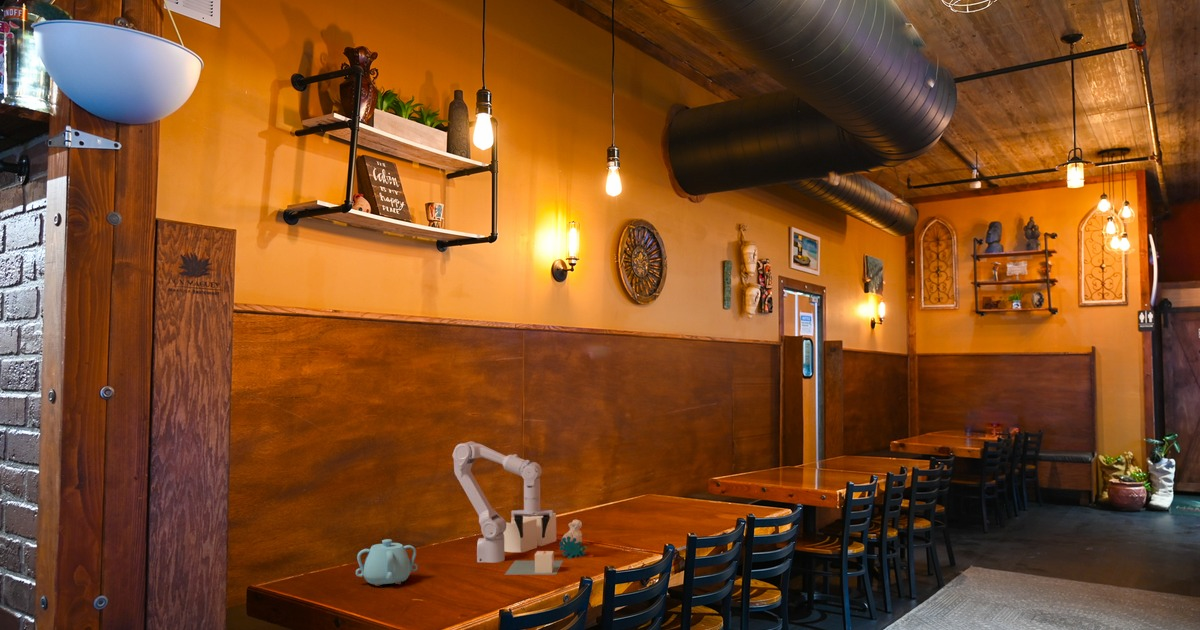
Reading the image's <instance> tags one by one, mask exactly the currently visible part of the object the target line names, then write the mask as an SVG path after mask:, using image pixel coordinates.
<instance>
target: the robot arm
mask: <svg viewBox="0 0 1200 630" xmlns="http://www.w3.org/2000/svg"><path fill="white" fill-rule="evenodd" d="M451 456H452V458H453V470H454V475H455V477H456V479H457V480H458V481H459V484H460V485H461V487H462V489H463V490H464V492H465V494H466V496H467V498H468V500H469V501H470V503H471V505H472V506H473V508H474V510H475V511H476V512H475V513H477V515H478V524H479V525H480V528H481V529H480V531H481V534H482V535H483V537H479V538H478V540H477V543H476V544H477V545H476V562H477V563H490V564H491V563H493V564H494V563H501V562H504V561H505V560H506V559H505V554H506V552H505V549H504V534H503V532H504V531H505V530H506V520H505V519H504V518H503V517H502V516H501V515H500V514H499V513H498V512H497V510H495V509H493V507H492V505H491V504H490V501H489V500H488V499H487V497H486V495H485V493H484V492H483V489H482V487H480V485H479V483H478V482H477V480H476V477H475V476H474V474H473V473H472V471H471V469H472V466H473V463H474V462H475V460H476V459H479V458H484V459H486V460H489V461H492V462H495V463H496V464H497V463H498V464H500V465H502V467H503V470H505V471H507V472H510V473H512V474H515V475H517V476H520V477H522V479H523V509H517V510H514V509H513V510H511V518H512V517H514V521H515V523H516V525H517V527H518V530H519V533H520V538H523V516H527V517H532V516H543V517H542V538H544V537H545V532H546V528H547V524H548V522H549V519H550V517H552V516H553V513H554V510H553V509H541V479H540V477H541V476H542V473H543V470H542V467H541V466H540V464H539V463H537V462H536V461H533V462H532V461H531V460H529V459H523V458H520V457H519V455H518V454H516V453H515V454H508V455H505V454H503V453H501V452H498V451H497V450H494V449H493V448H489V447H488V446H485V445H483V444H481V443H476V442H475V441H472V440H471V441H467V442H464V443H463V442H461V443H459V444H457V445H456V446H455V448H454V449H453V453H452V455H451ZM533 514H538V515H533ZM540 514H541V515H540Z"/></svg>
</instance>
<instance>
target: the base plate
mask: <svg viewBox="0 0 1200 630" xmlns="http://www.w3.org/2000/svg"><path fill="white" fill-rule="evenodd" d="M563 563H564V560H554V570H553V572H552V573H535V560H514V561H513V563H512V564H511V565H510V566H509V568H508V569H507V571H506V572H505V573H504V575H505V576H507V575H508V576H513V575H514V576H515V575H517V576H518V575H523V576H524V575H525V576H527V575H529V576H530V575H534V576H535V575H536V576H537V575H539V576H540V575H541V576H542V575H543V576H544V575H550V576H551V575H553V576H554V575H555V576H556V575H557V573H558V572H559V570H560V568H561V566H562V564H563Z"/></svg>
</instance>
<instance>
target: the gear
mask: <svg viewBox="0 0 1200 630" xmlns="http://www.w3.org/2000/svg"><path fill="white" fill-rule="evenodd" d="M570 539H571V537H569V536H568V537H567V541H568V542H566V538H563V537H562V538H561V540H562V541H563V542H564V544H563V542H562V541H559V544H558V545H559V546H560V547H559V551H561V552H562V551H563V552H562V555H563V556H564V557H565V556H567V559H573V557H574V559H576V558H577V557H579V558H580V557H581V558H582V557H583V556H585V554H586V552H585V551H586V549H587V548H588V547H587V545H584V546H582V544H583V543H582V541H581V542H580V541H579V542H578V543H575V542H576V540H577V539H576V538H573V540H572V541H570ZM578 545H579V546H578ZM562 546H563V547H562Z"/></svg>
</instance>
